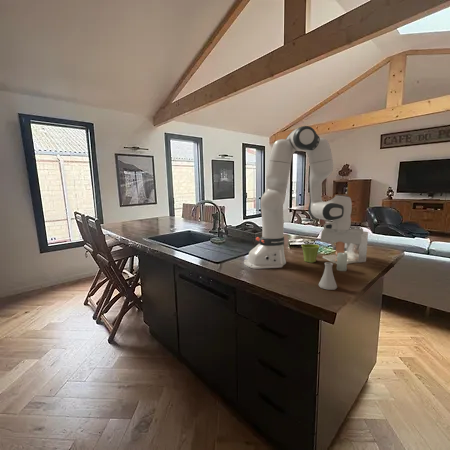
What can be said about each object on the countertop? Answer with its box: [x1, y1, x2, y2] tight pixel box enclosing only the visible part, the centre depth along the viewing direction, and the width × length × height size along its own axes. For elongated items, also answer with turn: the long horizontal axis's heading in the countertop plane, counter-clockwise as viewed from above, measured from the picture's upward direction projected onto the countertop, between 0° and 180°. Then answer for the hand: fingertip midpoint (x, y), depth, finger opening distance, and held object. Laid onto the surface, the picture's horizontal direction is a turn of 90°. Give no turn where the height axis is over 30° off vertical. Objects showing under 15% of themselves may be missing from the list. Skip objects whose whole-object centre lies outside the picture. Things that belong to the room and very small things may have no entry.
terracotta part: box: [334, 242, 345, 256], centre depth 139 cm, size 4×4×8 cm
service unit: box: [322, 228, 369, 265], centre depth 140 cm, size 18×14×16 cm
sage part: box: [336, 253, 348, 272], centre depth 124 cm, size 4×4×8 cm
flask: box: [318, 261, 338, 291], centre depth 104 cm, size 7×7×10 cm
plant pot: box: [301, 243, 320, 264], centre depth 139 cm, size 9×9×9 cm
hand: (339, 250), depth 139 cm, fingers closed on terracotta part, 4 cm apart
